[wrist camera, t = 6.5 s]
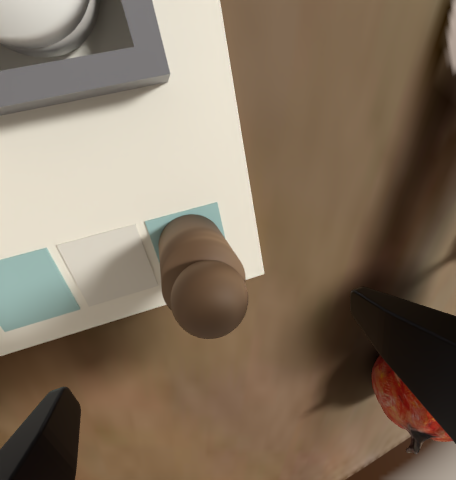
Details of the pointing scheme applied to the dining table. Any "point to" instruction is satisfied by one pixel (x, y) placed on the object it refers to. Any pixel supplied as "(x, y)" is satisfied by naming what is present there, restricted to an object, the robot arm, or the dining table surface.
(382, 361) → the pomegranate
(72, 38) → the dome
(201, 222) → the pawn
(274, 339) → the dining table surface
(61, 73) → the dome housing
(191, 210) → the board
